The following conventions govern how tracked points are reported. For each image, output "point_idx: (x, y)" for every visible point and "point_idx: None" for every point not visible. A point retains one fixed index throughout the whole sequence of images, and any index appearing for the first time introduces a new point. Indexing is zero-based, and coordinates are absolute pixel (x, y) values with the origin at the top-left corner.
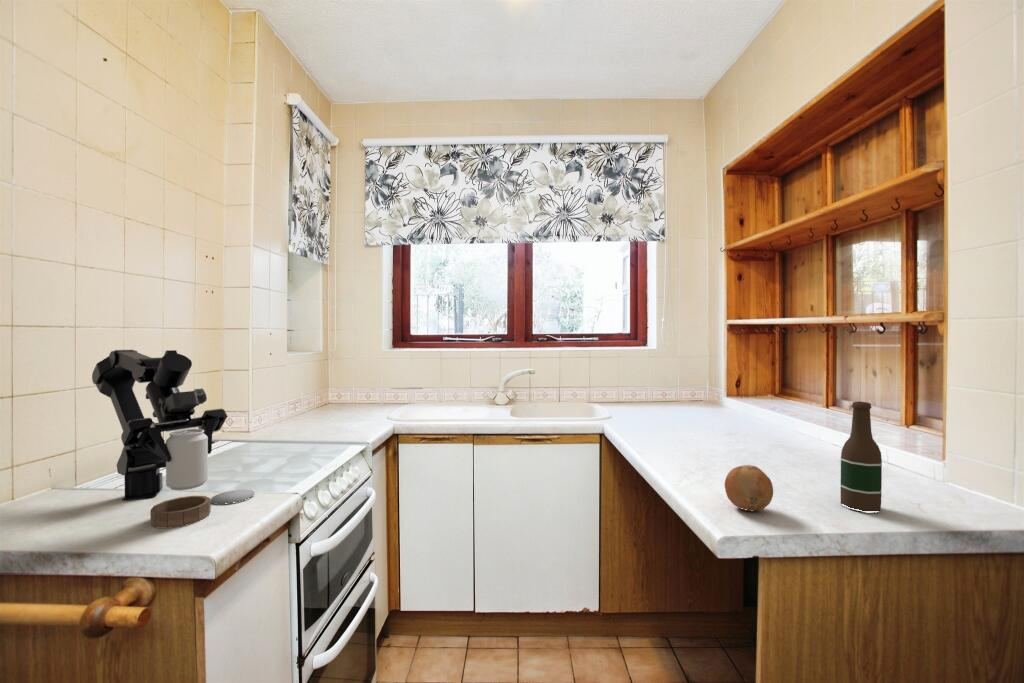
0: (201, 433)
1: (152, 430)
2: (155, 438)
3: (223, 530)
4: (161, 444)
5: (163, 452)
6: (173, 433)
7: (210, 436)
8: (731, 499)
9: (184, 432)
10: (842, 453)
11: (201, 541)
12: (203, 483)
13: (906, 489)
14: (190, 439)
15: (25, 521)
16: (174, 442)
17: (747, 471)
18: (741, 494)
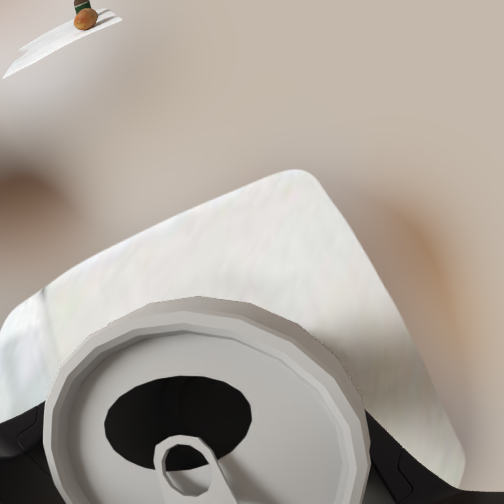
0: (110, 336)
1: (498, 502)
2: (440, 488)
3: (244, 235)
4: (395, 456)
5: (372, 421)
6: None
7: (40, 410)
8: (88, 24)
9: (210, 496)
10: (79, 2)
11: (295, 223)
12: (189, 376)
13: (65, 25)
14: (246, 314)
15: None
16: (350, 386)
17: (88, 9)
18: (94, 17)
